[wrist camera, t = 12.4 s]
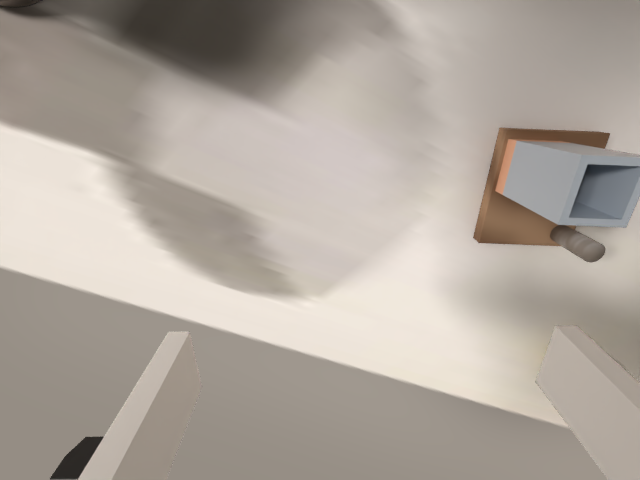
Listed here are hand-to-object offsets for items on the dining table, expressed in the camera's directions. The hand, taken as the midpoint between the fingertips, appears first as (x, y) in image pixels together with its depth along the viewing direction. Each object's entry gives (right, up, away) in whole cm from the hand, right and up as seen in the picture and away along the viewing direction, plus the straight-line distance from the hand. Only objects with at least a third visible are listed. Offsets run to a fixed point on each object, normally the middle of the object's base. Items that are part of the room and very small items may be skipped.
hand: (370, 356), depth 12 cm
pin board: (+21, +10, +23) cm, 33 cm away
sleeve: (+19, +12, +21) cm, 31 cm away
